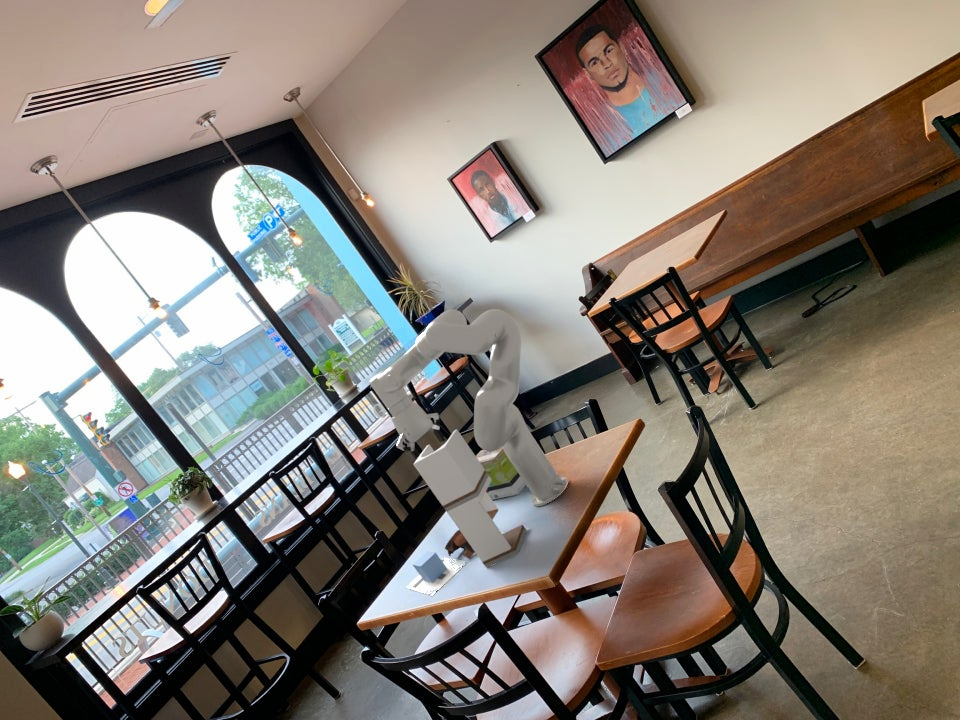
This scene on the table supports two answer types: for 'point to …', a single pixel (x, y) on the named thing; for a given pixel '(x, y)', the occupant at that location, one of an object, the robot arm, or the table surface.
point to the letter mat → (425, 586)
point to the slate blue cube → (429, 566)
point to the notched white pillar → (468, 498)
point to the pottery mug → (459, 545)
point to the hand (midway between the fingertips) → (432, 450)
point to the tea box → (500, 474)
